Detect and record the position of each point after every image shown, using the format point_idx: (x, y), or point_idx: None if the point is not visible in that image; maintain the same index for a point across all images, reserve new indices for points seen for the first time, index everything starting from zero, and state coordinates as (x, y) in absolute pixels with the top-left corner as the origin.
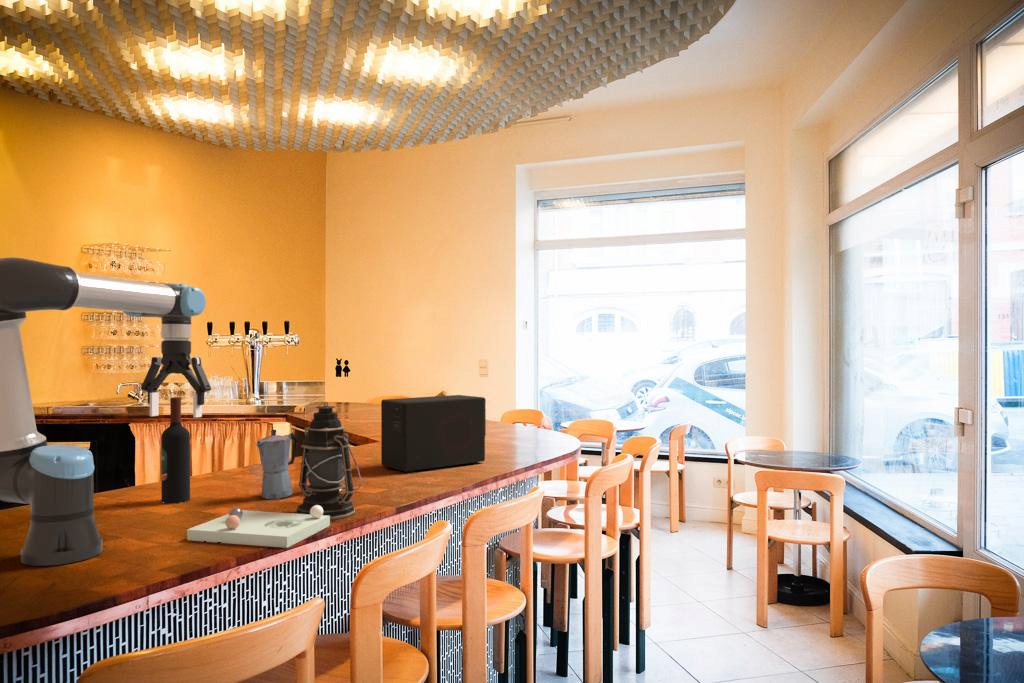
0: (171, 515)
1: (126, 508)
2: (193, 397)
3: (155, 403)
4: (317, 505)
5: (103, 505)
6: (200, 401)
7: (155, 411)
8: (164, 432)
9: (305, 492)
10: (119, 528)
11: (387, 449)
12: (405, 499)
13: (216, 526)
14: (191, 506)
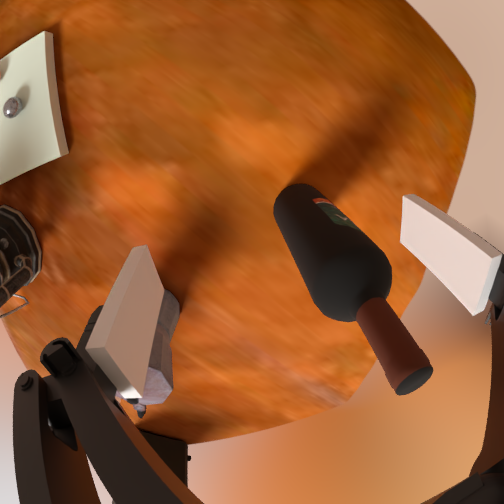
0: (204, 113)
1: (340, 126)
2: (113, 324)
3: (440, 250)
4: None
5: (394, 135)
6: (92, 322)
7: (414, 231)
8: (376, 258)
9: (22, 259)
10: (215, 10)
11: (170, 456)
12: (20, 337)
13: (20, 68)
14: (230, 185)
